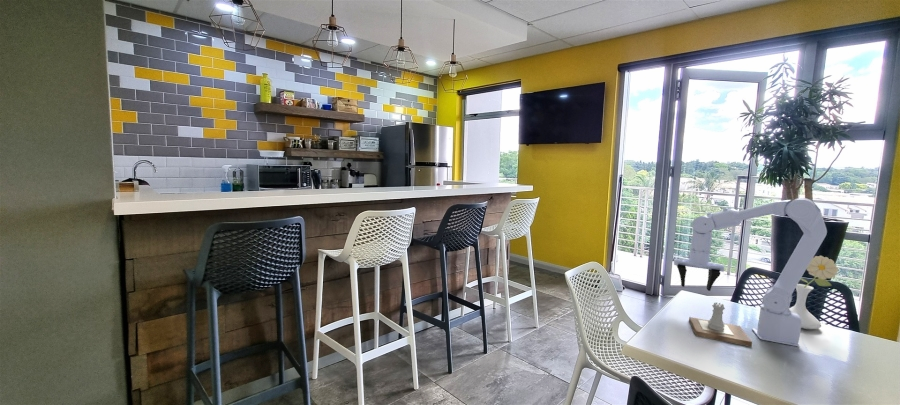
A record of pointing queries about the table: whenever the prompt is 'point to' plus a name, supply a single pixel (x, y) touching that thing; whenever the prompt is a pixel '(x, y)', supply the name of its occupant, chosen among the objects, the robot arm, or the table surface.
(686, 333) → the table surface
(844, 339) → the table surface
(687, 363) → the table surface
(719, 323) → the rook chess piece
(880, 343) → the table surface
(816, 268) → the flower in vase
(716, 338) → the base board
